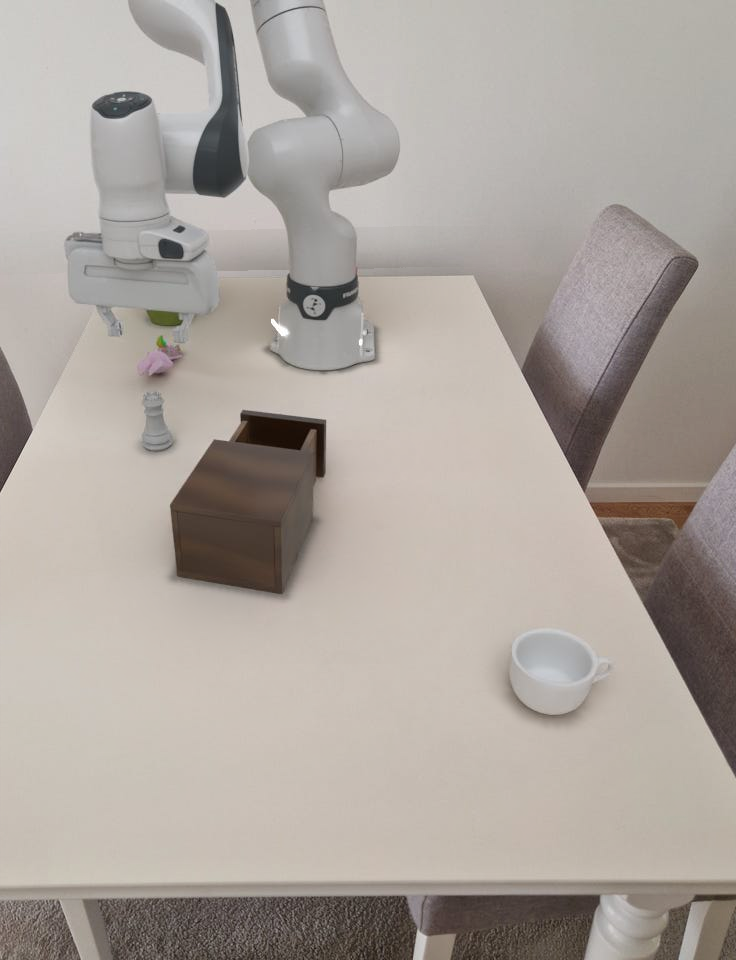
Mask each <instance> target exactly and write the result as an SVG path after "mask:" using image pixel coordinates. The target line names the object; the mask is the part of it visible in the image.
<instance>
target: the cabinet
mask: <svg viewBox="0 0 736 960" xmlns="http://www.w3.org/2000/svg"><path fill="white" fill-rule="evenodd" d="M169 509H170V519H171V520H170V521H171V529H172V539H173V548H174V558H175V567H176V568H175V569H176V576H177V577H180V578H187V579H192V580H197V581H198V580H199V581H204V582H210V583H215V584H220V585H225V586H233V587H239V588H245V589H250V590H256V591H263V592H268V593H274V594H279V595H280V594H281V595H282V594H283V593H284V590H285V588H286V585H287V583H288V581H289V579H290V577H291V574H292V571H293V569H294V566H295V565H296V562H297V560H298V557H299V555H300V553H301V549H302V547H303V545H304V543H305V541H306V537H307V535H308V533H309V531H310V528H311V527H312V523H313V521H314V487H313V452H308V451H301V450H293V449H285V448H278V447H270V446H262V445H254V444H247V443H239V442H231V441H229V440H223V439H222V440H221V439H216V438H214V439H213V440H212V442H211V443H210V445H209V446H208V447H207V449H206V451H204V454H203V455H202V456H201V458H200V459H199V460H198V462H197V464H196V465H195V466H194V468H193V470H192V471H191V472H190V474H189V476H188V477H187V479H185V481H184V483H183V485H182V486H181V487H180V489H179V491H178V492H177V493H176V495H175V496H174V498H173V499H172V501H171V502H170V504H169Z"/></svg>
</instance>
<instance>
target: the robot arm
mask: <svg viewBox="0 0 736 960" xmlns="http://www.w3.org/2000/svg"><path fill="white" fill-rule="evenodd" d="M127 3H128V4H127V5H128V9H129V12H130V15H131V17H132V19H133V20H134V22H135V24H136V25H137V27H138V28H139V30H140V31H141V32H142V33H143V34H144V35H145V36H146V37H147V38H148V39H150V40H151V41H152V42H154V44H157V45H158V46H160V47H162V48H164V49H166V50H169V51H171V52H175V53H178V54H181V55H183V56H186V57H189V58H191V59H193V60H194V61H197V62H199V63H200V64H201V65H203V66H204V67H205V73H206V87H207V96H208V97H207V98H208V99H207V100H208V107H207V108H206V109H204V110H203V111H200V112H198V113H197V112H196V113H159V112H158V111H157V107H156V104H155V101H154V99H153V97H151V96H150V95H148V94H146V93H142V92H139V91H132V90H131V91H130V90H128V91H127V90H126V91H125V90H124V91H115V92H113V93H108V94H104V95H102V96H100V97H99V98H97V99H95V101H93V103H92V104H91V106H90V110H89V151H90V163H91V172H92V177H93V181H94V183H95V186H96V189H97V192H98V207H97V215H98V223H99V229H100V230H99V231H100V232H84V231H74V232H72V234H70V235H68V236H67V237H66V238H65V241H64V244H63V247H64V254H65V258H66V260H67V287H68V294H69V297H70V298H71V300H72V301H73V302H74V303H75V304H78V305H87V306H88V305H89V306H95V307H96V312H97V314H98V316H99V317H100V318H101V320H102V321H103V322H104V324H105V325H106V328H107V334H108V336H109V337H114V338H115V337H117V338H120V337H121V336H123V334H124V332H125V329H124V322H123V320H118V319H117V317H116V316H115V314H114V313H113V311H112V310H111V309H113V308H124V309H133V310H134V309H135V310H145V311H146V310H156V311H167V312H178V313H179V319H180V320H183V322H182V323H181V324H180V325H177V326H176V327H175V328H174V329H173V330H172V337H173V343H176V344H186V343H187V342H188V340H189V327H190V325H191V323H192V321H193V319H194V317H195V315H203V316H208V315H210V313H212V312H213V311H214V310H215V309H216V307H218V305H219V303H220V300H221V291H220V289H221V288H220V281H219V274H218V270H217V269H218V268H217V266H216V261H215V260H214V257H213V255H212V254H211V252H209V251H207V250H206V249H207V248H208V247H209V245H210V234H209V232H208V231H207V230H205V229H203V228H201V227H198V226H196V225H194V224H192V223H191V224H190V223H188V222H185V221H183V220H181V219H179V218H177V217H175V216H172V215H171V207H170V203H169V201H168V199H167V195H166V194H172V195H173V194H177V195H178V194H180V195H181V194H182V195H183V194H184V195H198V196H204V197H214V198H222V199H225V198H227V197H228V196H230V195H231V194H233V193H234V192H235V191H236V190H237V189H238V188H240V187H241V185H243V183H244V182H245V181H246V180H247V178H248V179H249V181H250V183H251V185H252V186H253V187H254V188H255V189H256V191H258V193H260V194H261V195H263V196H265V197H266V198H267V199H268V200H270V202H272V204H273V205H274V206H275V207H276V209H277V210H278V212H279V214H280V216H281V219H282V220H283V223H284V226H285V229H286V236H287V247H288V270H289V271H288V274H287V275H286V283H285V289H286V297H287V298H286V299H285V301H282V303H281V304H280V305H279V307H278V320H277V322H276V321H275V319H274V318H271V324H272V325H273V326H274V328H275V329H276V331H277V337H276V338H274V339H273V340H272V341H271V342H270V343H269V347H268V348H269V350H270V351H271V352H273V353H275V354H277V355H279V356H280V358H281V359H282V360H283V361H285V362H286V363H288V364H290V365H291V366H293V367H297V368H299V369H305V370H312V371H333V370H340V369H344V368H348V367H352V366H353V365H356V364H359V363H366V362H367V363H368V362H372V361H374V360H375V359H376V349H375V347H376V346H375V325H374V323H373V322H372V321H370V320H366V319H365V313H364V311H363V309H364V305H363V304H364V302H363V300H362V299H361V298H360V296H359V288H360V282H359V277H358V266H357V249H358V248H357V245H358V244H357V243H358V235H357V234H358V233H357V231H356V229H355V226H354V225H353V223H352V222H351V221H350V220H349V219H348V217H346V216H344V215H342V214H340V213H338V212H336V211H334V210H332V209H331V206H330V197H329V195H330V191H335V190H341V189H342V190H343V189H348V188H349V189H350V188H354V187H361V186H365V185H368V184H371V183H373V182H376V181H378V180H380V179H382V178H384V177H387V176H389V175H390V174H391V173H392V172H393V171H394V169H395V168H396V166H397V163H398V160H399V157H400V152H401V142H400V141H401V139H400V135H399V132H398V130H397V127H396V125H395V124H394V122H393V120H392V119H391V118H390V117H389V116H388V115H386V114H385V113H383V112H382V111H381V112H380V110H378V109H376V108H375V107H373V106H372V105H371V104H370V103H369V102H368V101H367V100H366V99H365V98H364V97H363V96H362V94H360V92H359V91H358V89H357V88H356V87H355V86H354V84H353V82H351V80H350V78H349V77H348V74H347V73H346V71H345V69H344V67H343V65H342V62H341V60H340V57H339V53H338V50H337V48H336V43H335V40H334V38H333V37H334V35H333V33H332V29H331V26H330V21H329V17H328V14H327V10H326V6H325V3H324V0H249V3H250V9H251V17H252V22H253V27H254V31H255V35H256V39H257V43H258V46H259V51H260V55H261V58H262V62H263V67H264V70H265V74H266V78H267V82H268V84H269V86H270V88H271V89H272V90H273V92H274V93H275V94H276V95H278V96H279V97H280V98H282V99H284V100H286V101H288V102H291V103H292V104H294V105H295V106H296V107H298V108H299V109H300V111H301V112H302V113H303V114H304V115H305V116H302V117H294V118H285V119H281V120H278V121H274V122H272V123H268V124H267V125H264V126H261V127H259V128H257V129H254V130H253V131H252V133H251V135H250V136H249V138H248V140H247V137H246V133H245V130H244V125H243V116H242V115H243V114H242V104H241V93H240V82H239V71H238V60H237V52H236V44H235V38H234V32H233V27H232V23H231V20H230V16H229V14H228V12H227V9H226V8H225V7H224V6H223V5H221V4H219V3H218V2H216V1H215V0H127Z"/></svg>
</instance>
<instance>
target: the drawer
mask: <svg viewBox="0 0 736 960" xmlns="http://www.w3.org/2000/svg"><path fill="white" fill-rule="evenodd" d="M239 417H240V419H239V421H240V423H239V424H238V426H237V428H236V429H235V431H234V432H233V434H232V435H231V437H230V439H229V440H228V441H231V442H239V443H247V444H254V445H262V446H270V447H278V448H285V449H293V450H301V451H308V452H313V488H314V486H315V485H316V482H317V478H325V475H326V474H327V473H326V472H327V471H326V469H327V468H326V467H327V465H326V464H327V419H323V418H316V417H315V418H314V417H308V416H299V415H292V414H291V415H290V414H282V413H274V412H273V413H272V412H266V411H265V412H264V411H257V410H248V409H242V410H241V411H240V414H239Z"/></svg>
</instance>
